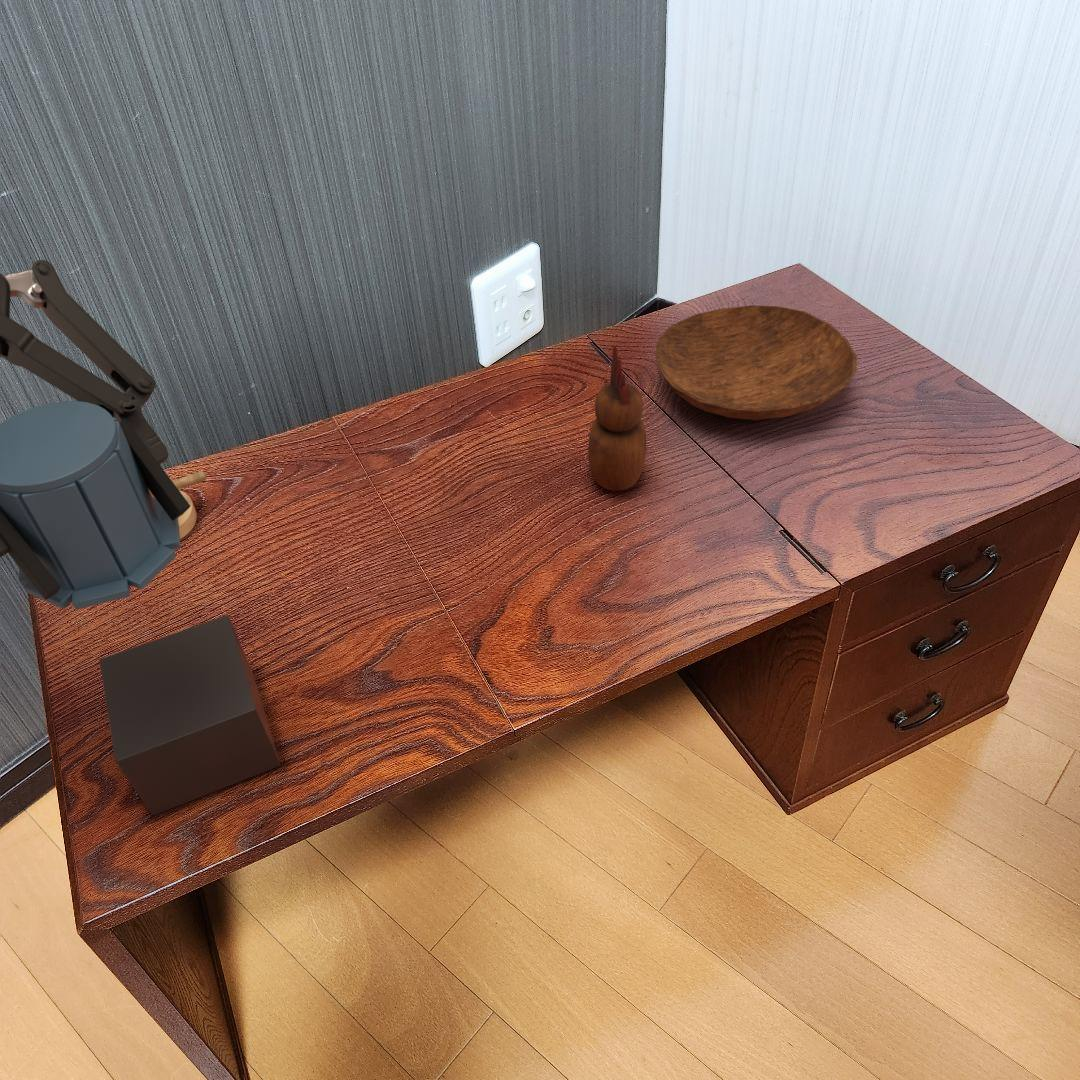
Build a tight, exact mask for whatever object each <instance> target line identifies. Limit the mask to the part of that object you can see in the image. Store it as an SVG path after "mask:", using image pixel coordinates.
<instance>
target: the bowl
mask: <svg viewBox="0 0 1080 1080" xmlns="http://www.w3.org/2000/svg"><path fill="white" fill-rule="evenodd" d="M654 356H655V359H656V363H657V366H658V367H657V368H658V370H659V372H660V375H662V377H663V379H665V381H666V382H667V384H668V385H669V386H670V387H671V389H672V390H673V392H674V393H675V394H677V395H678V396H679V397H681V398H682V399H683V400H684V401H686V402H687V403H689V405H691V406H692V407H694V408H697V409H699V410H702V411H704V412H706V413H710V414H713V415H717V416H722V417H726V418H730V419H739V420H740V419H741V420H752V421H759V420H767V419H768V420H769V419H779V418H785V417H786V418H787V417H790V416H793V415H794V416H795V415H798V414H801V413H804V412H808V411H810V410H813V409H814V408H816V407H818V406H820V405H822V404H823V403H825V402H826V401H829V400H830V399H832V398H834V397H835V396H837V395H839V394H840V393H841V392H843V390H844V389H846V387H848V386H849V385H850V382H851V381H852V379H853V378H854V376H855V375H856V372H857V371H858V355H857V353H856V352H855V350H854V349H853V347H852V345H851V343H850V342H849V340H848V338H846V337H845V336H844V335H843V334H842V333H841V332H840V331H839V330H838V329H836V327H834V326H833V325H832V324H830V323H829V322H827V321H825V320H823V319H820V318H819V317H817V316H815V315H813V314H810V313H808V312H806V311H804V310H799V309H793V308H789V307H785V306H784V307H783V306H780V305H779V306H778V305H757V304H755V305H754V304H752V305H741V306H732V307H731V306H730V307H723V308H718V309H713V310H709V311H705V312H699V313H695V314H692V315H690V316H688V317H686V318H684V319H682V320H680V321H677V322H675V323H673V324H671V325H668V327H667V329H665V331H664V332H663V333H662V334H661V335H660V337H659V338H658V339H657V343H656V345H655V351H654Z"/></svg>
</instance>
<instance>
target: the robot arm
mask: <svg viewBox="0 0 1080 1080" xmlns="http://www.w3.org/2000/svg"><path fill="white" fill-rule="evenodd" d="M31 266H32V267H31V269H27V270H22V271H19V272H14V273H10V274H6V275H4V274H3V273H1V272H0V359H1V358H2V359H3V360H5V361H7V362H9V363H11V364H12V365H14V366H16V367H21V368H23V369H25V370H26V371H28V372H30V373H32V374H33V375H35V376H37V378H40V379H41V380H43V381H45V382H46V383H48V384H49V385H51V386H53V387H54V388H56V389H58V390H59V391H61V392H62V393H64V394H65V395H67V396H69V397H70V398H72V399H74V400H75V401H81V402H87V403H92V404H95V405H97V406H100V407H102V408H103V409H105V410H106V411H107V412H109V413H110V414H111V416H112V417H113V418H116V420H117V421H118V422H119V424H120V426H121V428H122V430H123V433H124V435H125V437H126V440H127V442H128V444H129V446H130V449H131V451H132V453H133V455H134V458H135V460H136V462H137V464H138V467H139V469H140V471H141V474H142V476H143V478H144V480H145V483H146V485H147V487H148V489H149V490H150V492H151V493H152V494H153V496H154V497H155V498H156V500H157V501H158V502H159V504H160V505H161V506H162V508H163V509H164V510H165V512H166V513H167V514H168V516H169V517H170V518H171V520H172V521H173V520H175V519H176V518H178V517H180V516H181V515H183V514H184V513H185V512H186V511H187V510H188V509H189V508H190V507H191V506H190V505H189V503H188V502H187V501H186V499H185V498H184V497H183V495H182V494H181V492H180V491H181V490H180V489H179V490H180V491H179V490H178V488H177V487H176V486H175V484H174V483H173V482H172V481H173V480H172V479H171V477H170V476H169V475H168V474H167V472H166V471H165V469H164V468H163V467H162V465H161V464H164V463H165V462H166V461H167V459H168V458H169V452H168V448H167V446H166V445H165V443H164V442H163V440H161V438H160V437H159V435H158V434H157V433H156V431H155V430H154V429H153V428H152V426H151V425H150V423H149V422H148V421H147V419H146V418H145V417H144V415H143V413H142V408H143V407H144V405H145V404H146V403H147V402H148V401H149V400H150V398H151V396H152V395H153V393H154V390H155V388H156V381H155V379H154V378H153V376H152V375H151V374H149V372H148V371H146V370H145V368H144V367H143V366H141V364H140V363H139V362H138V361H136V359H134V357H133V356H131V354H130V353H129V352H127V351H126V350H125V349H124V348H123V346H122V345H121V344H119V343H118V341H116V340H115V339H114V337H112V336H111V335H110V334H109V333H108V332H107V331H106V330H105V329H104V328H103V327H102V326H101V325H100V323H98V322H97V321H96V320H95V318H93V317H92V315H90V314H89V313H88V312H87V311H86V310H85V309H84V308H83V307H82V306H81V305H80V304H79V303H78V302H77V301H76V300H75V299H74V298H73V297H72V296H71V295H70V294H69V293H68V292H67V291H66V288H65V287H64V285H63V283H62V280H61V279H60V276H59V274H58V273H57V271H56V269H55V266H54V265H53V264H52V263H51V262H49V261H48V260H45V259H38V260H36V261H34V262H33V263H32V265H31ZM12 297H14V298H15V297H16V298H20V299H22V300H23V301H24V302H25V303H26V304H27V305H28V306H29V307H31V308H34V309H42V312H43V313H44V314H45V316H46V318H48V319H49V321H50V322H51V323H52V324H53V325H54V326H55V327H56V328H57V329H58V330H59V331H60V332H61V333H62V334H63V335H64V336H65V337H66V338H67V339H68V340H69V341H70V342H71V343H72V344H73V345H75V346H76V348H78V350H80V351H81V352H82V353H83V354H84V355H85V356H86V358H88V359H89V360H90V361H91V362H92V363H93V364H94V365H95V366H96V367H97V368H98V369H99V370H100V371H101V372H102V373H103V374H104V375H105V376H106V377H108V379H109V380H111V381H112V382H113V384H115V385H116V387H115V386H113V385H112V384H110V383H108V382H107V381H106V380H104V379H103V378H101V377H99V376H97V375H96V374H94V373H93V372H91V371H90V370H88V369H86V368H85V367H83V366H81V365H79V364H78V363H76V362H75V361H74V360H73V359H70V358H69V357H67V356H65V355H64V354H62V353H61V352H59V351H58V350H56V349H54V348H53V347H51V346H50V345H48V344H46V343H45V342H44V341H41V340H40V339H39V338H37V337H36V336H35V335H34V334H33V332H32V331H30V330H29V329H28V328H26V327H25V326H23V325H21V324H20V323H18V322H17V321H16V320H13V319H12V318H10V317H11V316H10V315H11V314H10V313H11V298H12ZM117 387H118V388H119V389H118V388H117ZM7 554H9V556H10V557H11V558H12V559H13V561H14V563H16V565H17V566H18V568H19V567H20V568H21V570H22V571H23V572H24V573H25V575H26V576H27V577H28V579H29V580H30V581H31V582H32V584H33V585H34V586H35V587H36V589H37V590H38V591H39V592H40V594H41V595H42V596H43V598H44V599H45V600H47V599H48V598H50V597H51V596H53V595H55V594H56V593H58V591H59V589H60V588H61V587H60V585H59V584H58V583H57V582H56V580H55V579H54V578H53V576H52V575H51V574H50V573H49V571H48V570H47V569H46V568H45V566H44V565H43V564H42V562H41V561H40V560H39V559H38V557H37V556H36V555H35V553H34V552H33V551H32V550H31V548H30V547H29V546H28V545H27V543H26V542H25V541H24V539H23V538H22V537H21V536H20V534H19V533H18V532H17V531H16V529H15V528H14V527H13V525H12V524H11V523H10V522H9V520H8V519H7V518H6V517H5V515H4V514H3V513H2V511H1V510H0V558H1V557H3V556H5V555H7Z"/></svg>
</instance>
